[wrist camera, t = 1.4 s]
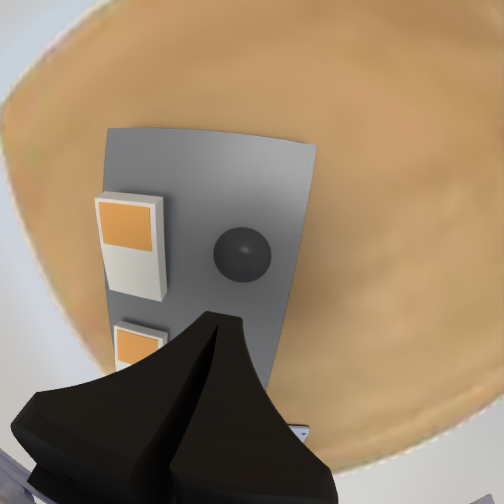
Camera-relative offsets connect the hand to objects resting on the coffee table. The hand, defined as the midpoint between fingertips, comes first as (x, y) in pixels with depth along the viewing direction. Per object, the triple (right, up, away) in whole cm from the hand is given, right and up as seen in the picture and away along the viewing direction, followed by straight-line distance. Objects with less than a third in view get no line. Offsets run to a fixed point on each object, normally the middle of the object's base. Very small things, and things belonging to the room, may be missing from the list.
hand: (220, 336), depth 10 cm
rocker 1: (-5, +3, +5) cm, 8 cm away
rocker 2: (-7, -5, +8) cm, 12 cm away
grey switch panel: (-3, 0, +10) cm, 11 cm away
